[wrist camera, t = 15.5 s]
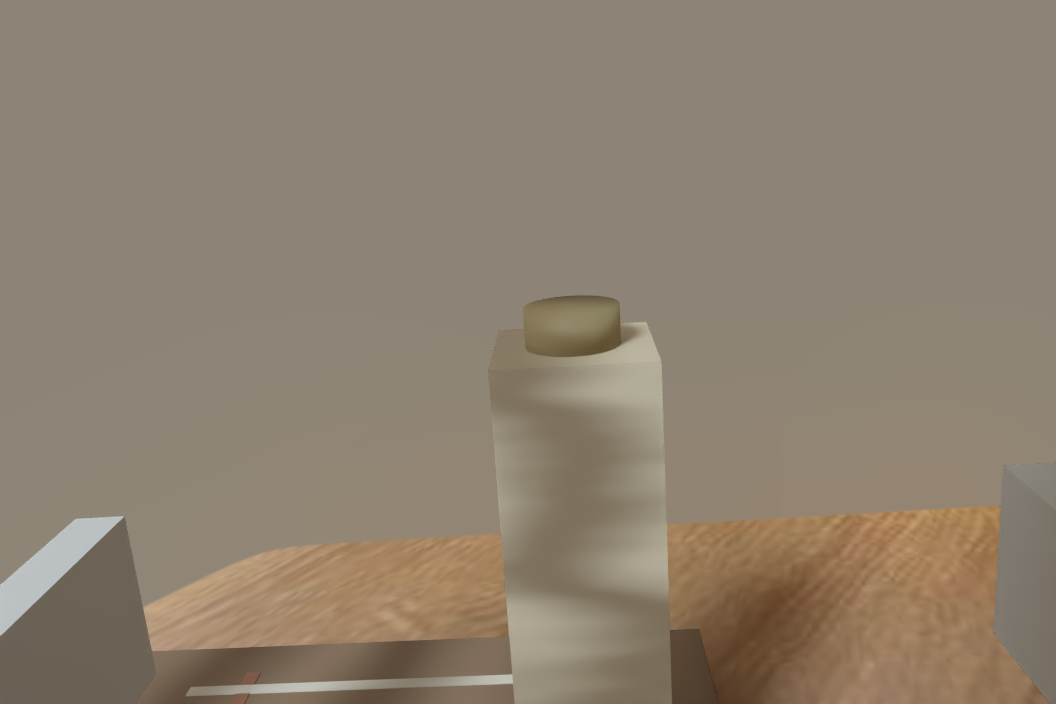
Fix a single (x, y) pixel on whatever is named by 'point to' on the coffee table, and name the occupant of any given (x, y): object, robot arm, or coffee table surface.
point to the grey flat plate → (378, 673)
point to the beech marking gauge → (582, 504)
